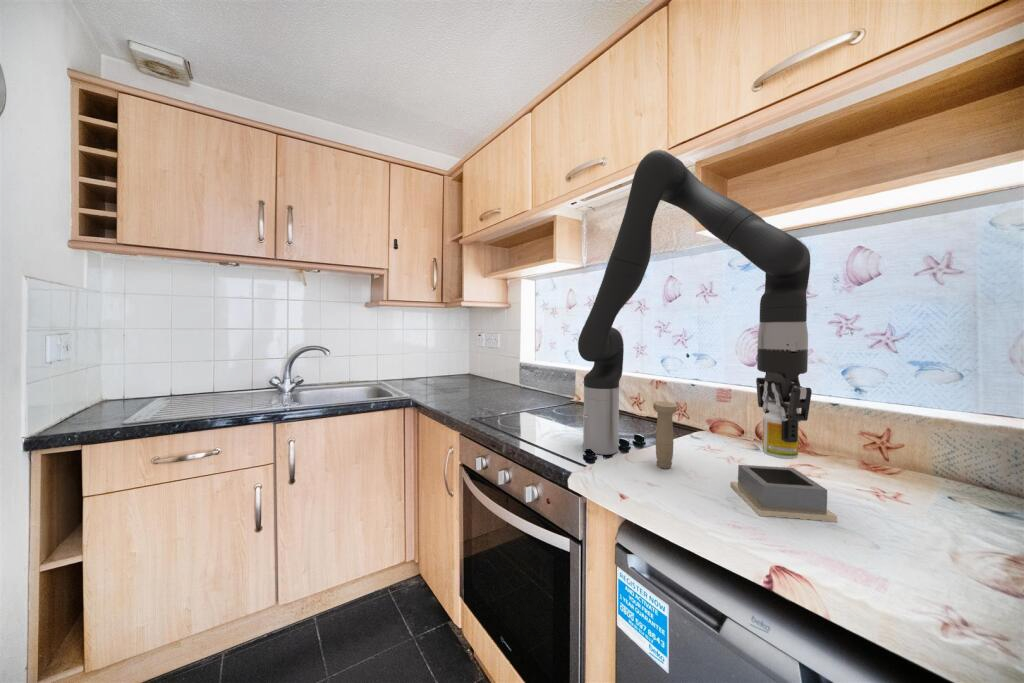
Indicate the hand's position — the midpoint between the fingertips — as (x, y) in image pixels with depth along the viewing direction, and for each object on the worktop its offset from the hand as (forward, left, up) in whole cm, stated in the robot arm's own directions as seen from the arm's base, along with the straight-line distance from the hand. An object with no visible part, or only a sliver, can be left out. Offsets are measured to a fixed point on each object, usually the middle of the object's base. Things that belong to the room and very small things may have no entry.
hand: (780, 436), depth 68 cm
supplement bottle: (0, 0, -4) cm, 4 cm away
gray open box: (0, 0, -13) cm, 13 cm away
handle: (-17, +15, -13) cm, 26 cm away
